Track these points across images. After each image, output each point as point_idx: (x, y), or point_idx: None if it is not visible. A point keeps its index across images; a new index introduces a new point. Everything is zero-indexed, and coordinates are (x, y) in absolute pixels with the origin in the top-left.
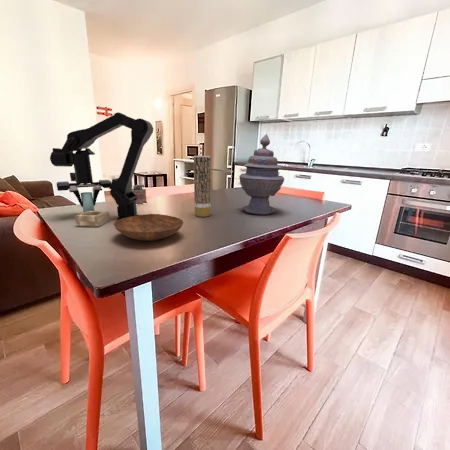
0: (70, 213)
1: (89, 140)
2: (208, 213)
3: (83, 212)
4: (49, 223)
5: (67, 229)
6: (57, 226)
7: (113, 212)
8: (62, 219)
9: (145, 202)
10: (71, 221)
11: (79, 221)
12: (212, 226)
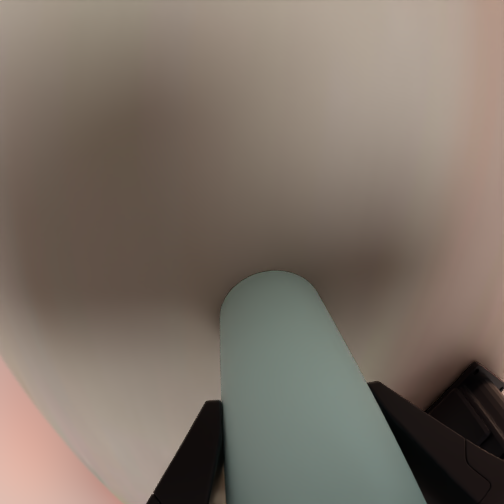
0: (88, 30)
1: None
2: None
3: (220, 358)
4: (8, 365)
5: (146, 490)
6: (80, 442)
7: (483, 218)
8: (42, 295)
9: None
10: (127, 390)
11: None
12: None
